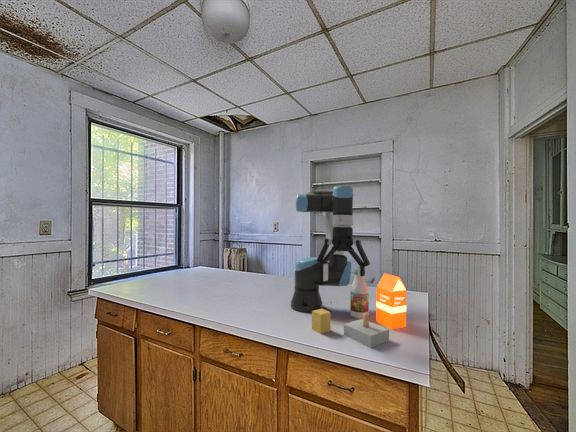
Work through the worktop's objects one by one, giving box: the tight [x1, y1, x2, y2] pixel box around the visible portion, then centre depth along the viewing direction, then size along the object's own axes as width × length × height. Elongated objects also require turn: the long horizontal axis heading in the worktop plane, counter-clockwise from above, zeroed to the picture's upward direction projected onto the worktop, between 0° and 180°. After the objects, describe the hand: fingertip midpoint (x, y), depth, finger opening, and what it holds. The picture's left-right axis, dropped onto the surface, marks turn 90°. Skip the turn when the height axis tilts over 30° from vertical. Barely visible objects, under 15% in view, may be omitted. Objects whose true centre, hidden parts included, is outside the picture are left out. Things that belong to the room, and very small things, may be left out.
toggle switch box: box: [343, 312, 390, 349], centre depth 99 cm, size 12×10×8 cm
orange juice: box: [375, 272, 407, 330], centre depth 112 cm, size 8×9×20 cm
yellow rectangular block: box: [311, 308, 332, 335], centre depth 105 cm, size 5×5×7 cm
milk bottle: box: [349, 269, 370, 320], centre depth 121 cm, size 8×8×20 cm
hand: (342, 282), depth 104 cm, fingers open, 13 cm apart
